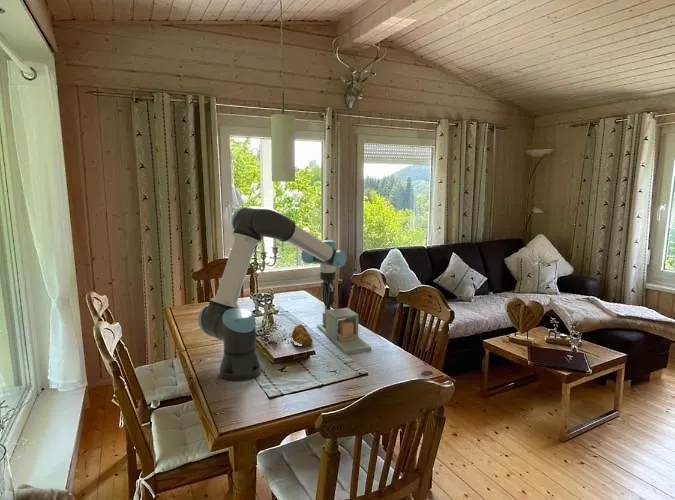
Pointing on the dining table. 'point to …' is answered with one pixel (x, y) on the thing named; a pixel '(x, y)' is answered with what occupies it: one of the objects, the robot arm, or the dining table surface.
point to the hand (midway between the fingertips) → (327, 317)
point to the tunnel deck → (332, 329)
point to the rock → (301, 335)
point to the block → (345, 327)
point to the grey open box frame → (343, 337)
